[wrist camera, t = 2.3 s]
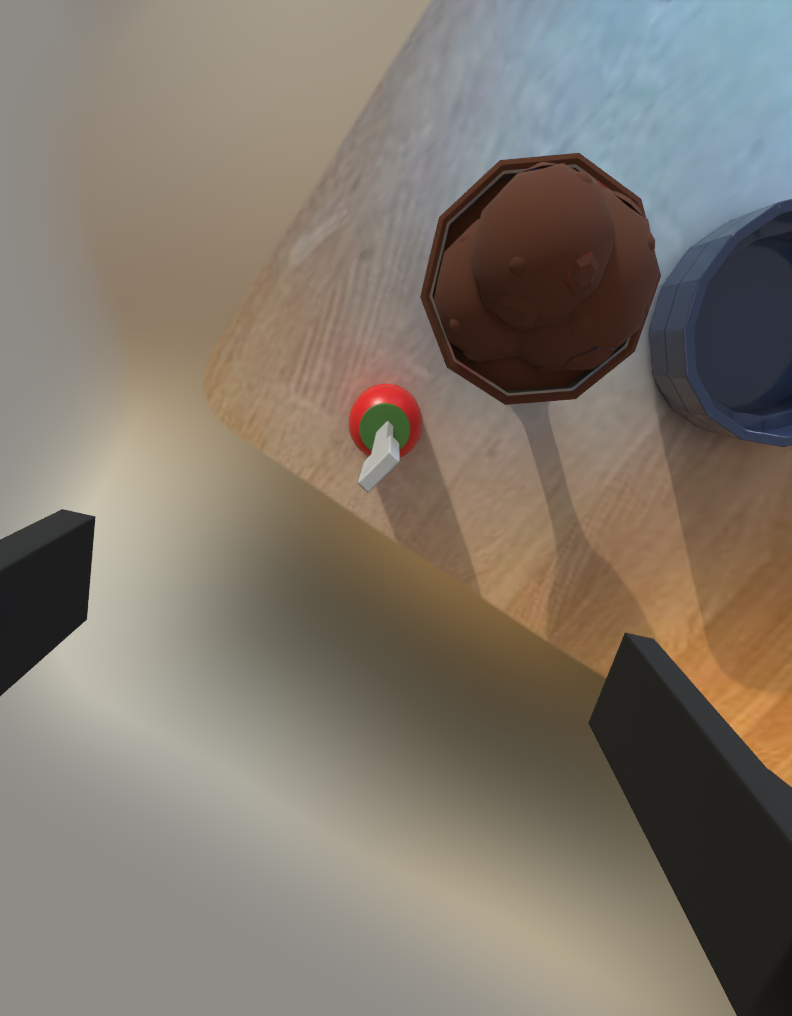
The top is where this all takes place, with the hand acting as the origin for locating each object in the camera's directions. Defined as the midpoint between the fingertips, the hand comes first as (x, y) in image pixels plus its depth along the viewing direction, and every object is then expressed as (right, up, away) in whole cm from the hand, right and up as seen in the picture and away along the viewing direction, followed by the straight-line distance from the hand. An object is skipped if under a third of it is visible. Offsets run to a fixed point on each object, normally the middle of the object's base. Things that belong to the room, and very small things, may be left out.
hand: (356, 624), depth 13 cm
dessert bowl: (+24, +14, +21) cm, 35 cm away
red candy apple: (0, +9, +23) cm, 25 cm away
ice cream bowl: (+8, +16, +21) cm, 28 cm away
